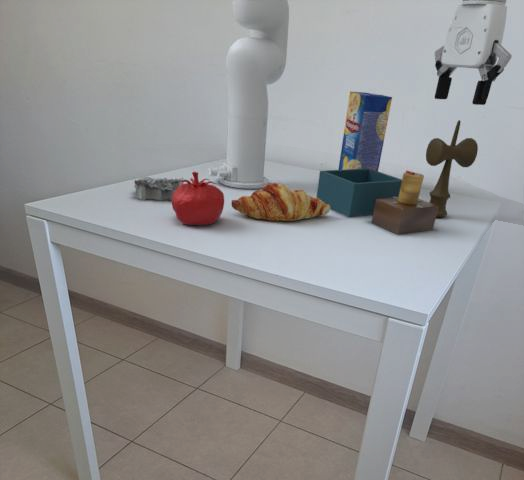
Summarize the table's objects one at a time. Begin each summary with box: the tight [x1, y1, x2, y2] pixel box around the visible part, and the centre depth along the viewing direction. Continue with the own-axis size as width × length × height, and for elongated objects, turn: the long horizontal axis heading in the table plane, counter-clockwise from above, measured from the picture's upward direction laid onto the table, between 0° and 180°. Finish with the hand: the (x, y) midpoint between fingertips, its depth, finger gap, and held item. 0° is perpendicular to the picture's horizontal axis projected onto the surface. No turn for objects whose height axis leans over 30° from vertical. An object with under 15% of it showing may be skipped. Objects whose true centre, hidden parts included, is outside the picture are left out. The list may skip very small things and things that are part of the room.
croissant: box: [230, 182, 331, 222], centre depth 100 cm, size 21×10×8 cm, turn 103°
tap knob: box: [398, 170, 425, 205], centre depth 98 cm, size 4×4×6 cm
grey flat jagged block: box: [134, 176, 185, 201], centre depth 107 cm, size 11×8×4 cm
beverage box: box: [337, 91, 393, 172], centre depth 126 cm, size 7×11×22 cm, turn 11°
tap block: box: [371, 196, 439, 235], centre depth 101 cm, size 10×8×5 cm
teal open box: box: [316, 168, 402, 218], centre depth 111 cm, size 15×13×7 cm
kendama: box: [425, 119, 479, 218], centre depth 106 cm, size 6×10×20 cm, turn 109°
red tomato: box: [171, 171, 225, 226], centre depth 92 cm, size 10×10×9 cm
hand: (458, 101), depth 97 cm, fingers open, 9 cm apart
